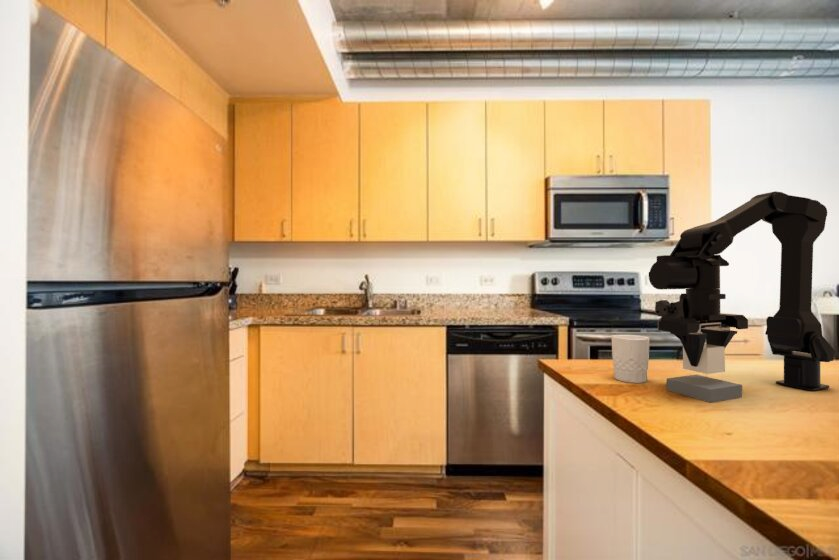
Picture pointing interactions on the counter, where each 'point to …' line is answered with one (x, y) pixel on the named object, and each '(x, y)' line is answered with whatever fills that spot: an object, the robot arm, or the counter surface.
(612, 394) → the counter surface
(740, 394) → the base
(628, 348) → the white cup
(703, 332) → the robot arm
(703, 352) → the cube
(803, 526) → the counter surface
